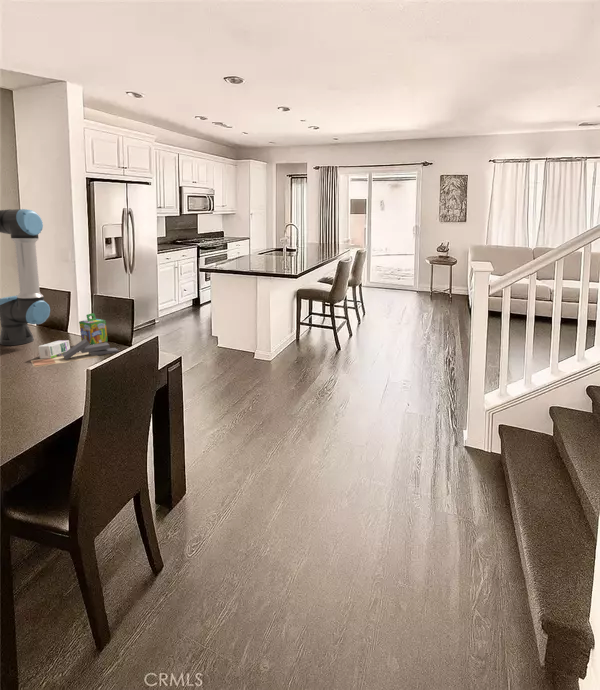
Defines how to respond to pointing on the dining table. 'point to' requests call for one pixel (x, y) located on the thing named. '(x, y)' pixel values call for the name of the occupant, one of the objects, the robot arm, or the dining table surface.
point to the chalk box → (93, 330)
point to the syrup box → (53, 349)
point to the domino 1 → (75, 349)
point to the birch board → (61, 359)
